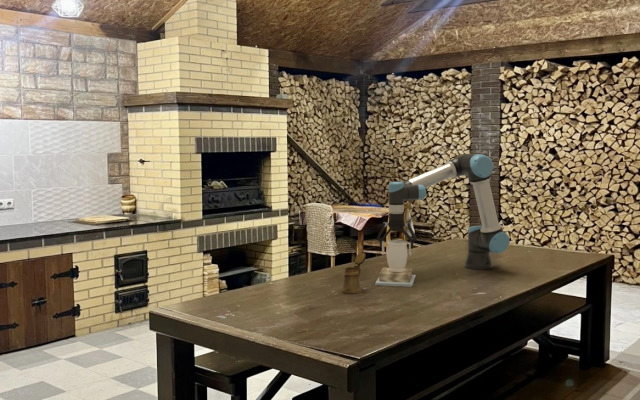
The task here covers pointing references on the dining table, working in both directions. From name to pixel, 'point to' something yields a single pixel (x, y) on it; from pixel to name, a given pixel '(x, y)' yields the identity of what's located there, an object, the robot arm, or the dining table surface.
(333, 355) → the dining table surface
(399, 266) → the jar
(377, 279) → the board
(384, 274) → the tan flat block
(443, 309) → the dining table surface
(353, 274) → the wooden mug
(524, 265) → the dining table surface
